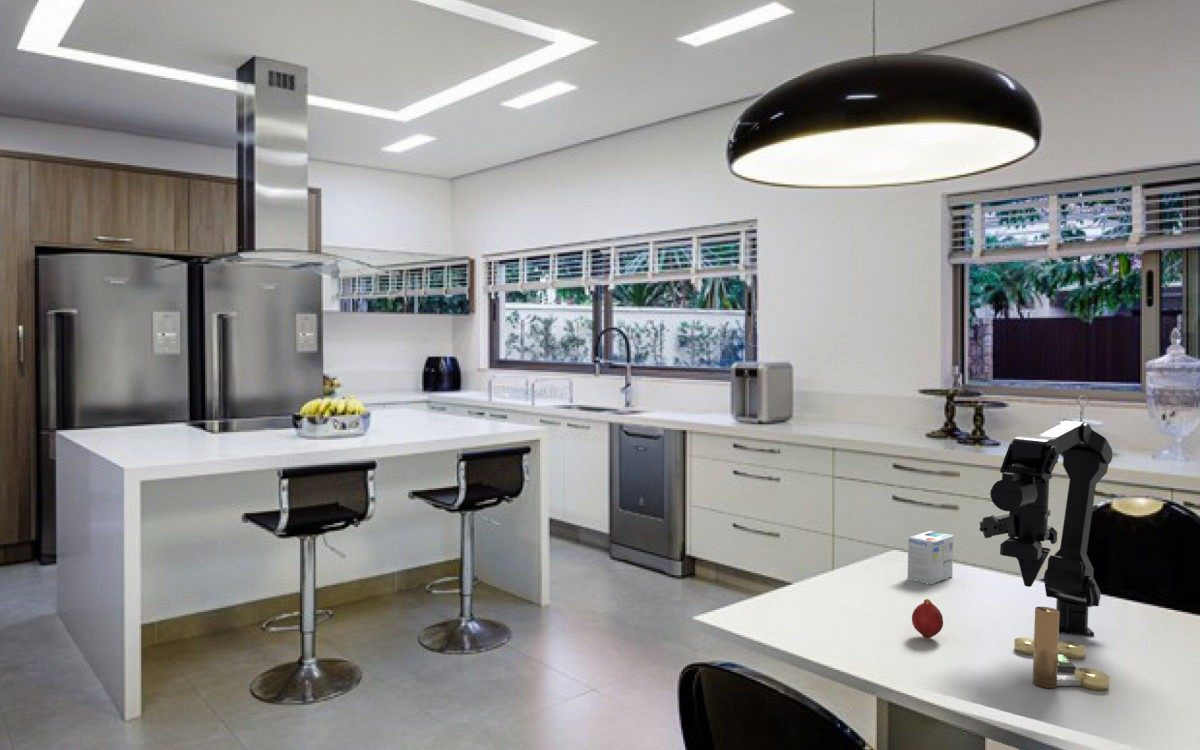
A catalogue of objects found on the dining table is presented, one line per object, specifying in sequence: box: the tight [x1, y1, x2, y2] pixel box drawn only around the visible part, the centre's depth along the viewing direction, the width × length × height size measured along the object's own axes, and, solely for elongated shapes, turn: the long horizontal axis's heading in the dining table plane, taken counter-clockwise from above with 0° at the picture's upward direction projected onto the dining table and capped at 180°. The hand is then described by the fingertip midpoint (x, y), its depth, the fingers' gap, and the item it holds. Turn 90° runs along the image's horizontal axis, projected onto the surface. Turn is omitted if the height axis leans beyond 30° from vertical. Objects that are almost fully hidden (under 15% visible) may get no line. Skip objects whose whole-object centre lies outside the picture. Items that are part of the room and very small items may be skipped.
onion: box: [911, 598, 944, 640], centre depth 162 cm, size 6×6×8 cm
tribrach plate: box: [1013, 637, 1086, 674], centre depth 145 cm, size 20×20×3 cm
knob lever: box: [1032, 606, 1110, 692], centre depth 137 cm, size 12×5×13 cm, turn 91°
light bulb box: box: [907, 530, 955, 585], centre depth 202 cm, size 11×7×11 cm, turn 130°
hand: (1028, 586), depth 154 cm, fingers closed
